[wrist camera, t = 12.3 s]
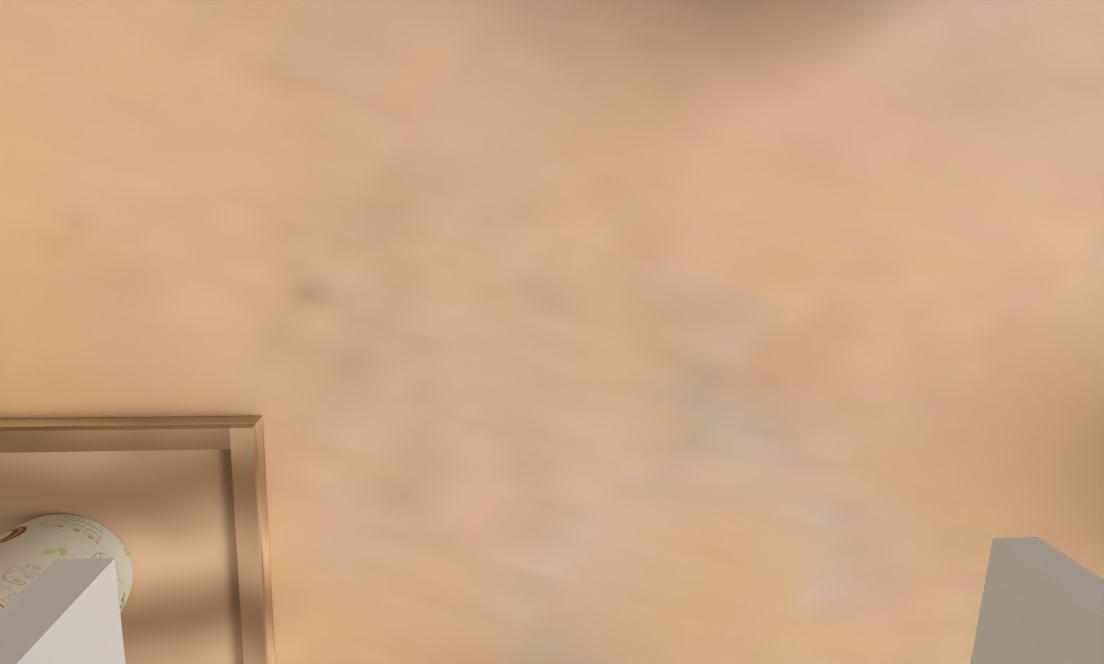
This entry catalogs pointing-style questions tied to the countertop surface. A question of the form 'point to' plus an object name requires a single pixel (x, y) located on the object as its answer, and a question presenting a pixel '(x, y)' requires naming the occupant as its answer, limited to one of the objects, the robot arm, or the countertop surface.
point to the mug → (58, 551)
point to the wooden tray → (161, 522)
